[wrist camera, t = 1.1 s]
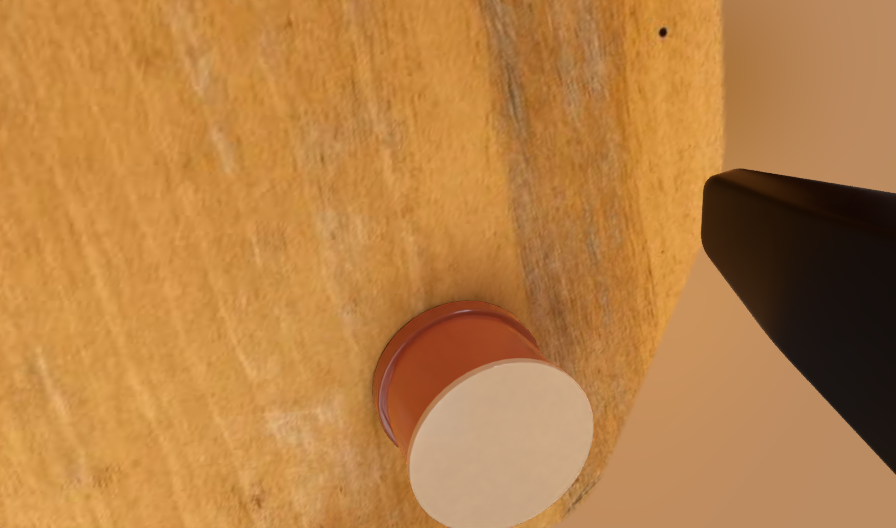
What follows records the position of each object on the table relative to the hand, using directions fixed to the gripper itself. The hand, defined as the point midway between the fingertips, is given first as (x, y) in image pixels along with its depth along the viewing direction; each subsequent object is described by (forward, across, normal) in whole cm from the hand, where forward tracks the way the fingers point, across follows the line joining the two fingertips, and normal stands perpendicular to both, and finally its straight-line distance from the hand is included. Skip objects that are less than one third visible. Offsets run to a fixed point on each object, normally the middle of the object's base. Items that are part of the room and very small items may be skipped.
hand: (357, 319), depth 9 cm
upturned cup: (+14, -5, +14) cm, 20 cm away
